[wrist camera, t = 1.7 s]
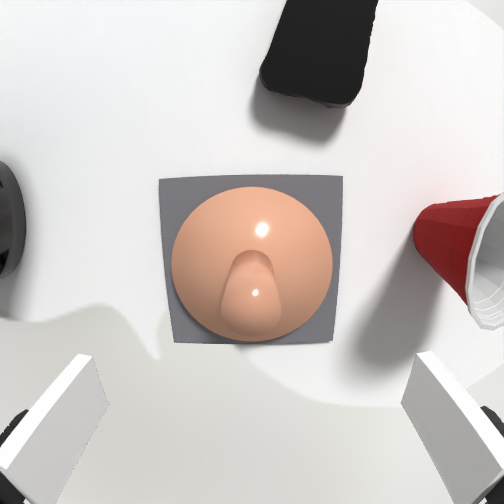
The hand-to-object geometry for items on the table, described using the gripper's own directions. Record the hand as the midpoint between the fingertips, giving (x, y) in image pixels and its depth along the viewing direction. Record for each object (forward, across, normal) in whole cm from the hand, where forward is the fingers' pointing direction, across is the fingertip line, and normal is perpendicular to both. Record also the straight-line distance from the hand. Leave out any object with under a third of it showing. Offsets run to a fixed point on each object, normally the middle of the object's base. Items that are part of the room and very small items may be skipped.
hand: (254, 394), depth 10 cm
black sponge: (+18, +7, +22) cm, 29 cm away
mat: (+17, 0, 0) cm, 17 cm away
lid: (+17, 0, 0) cm, 17 cm away
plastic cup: (+18, +19, +3) cm, 26 cm away
